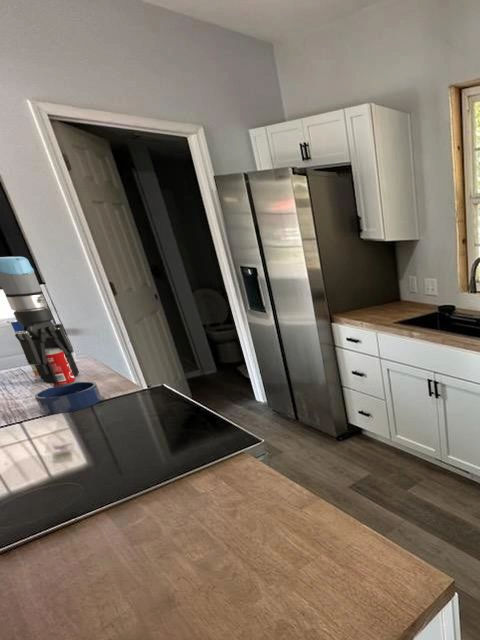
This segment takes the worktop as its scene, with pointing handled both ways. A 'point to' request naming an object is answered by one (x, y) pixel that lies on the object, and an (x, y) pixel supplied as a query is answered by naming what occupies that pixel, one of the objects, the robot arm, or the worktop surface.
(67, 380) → the beverage can
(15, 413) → the worktop surface
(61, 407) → the blue bowl
